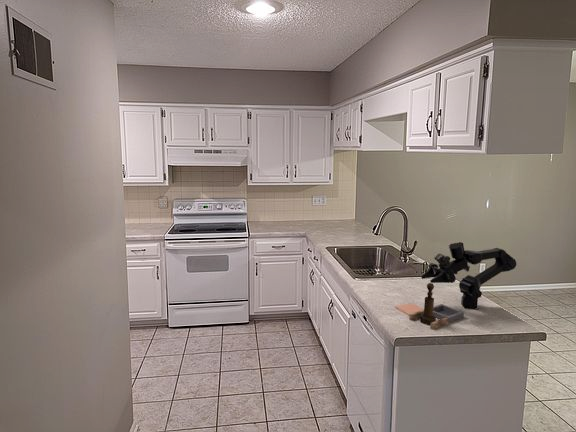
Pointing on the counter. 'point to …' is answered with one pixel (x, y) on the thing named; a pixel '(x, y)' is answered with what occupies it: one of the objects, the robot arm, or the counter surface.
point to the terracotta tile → (409, 308)
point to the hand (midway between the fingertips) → (425, 279)
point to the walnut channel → (433, 324)
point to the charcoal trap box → (447, 313)
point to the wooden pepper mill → (428, 307)
